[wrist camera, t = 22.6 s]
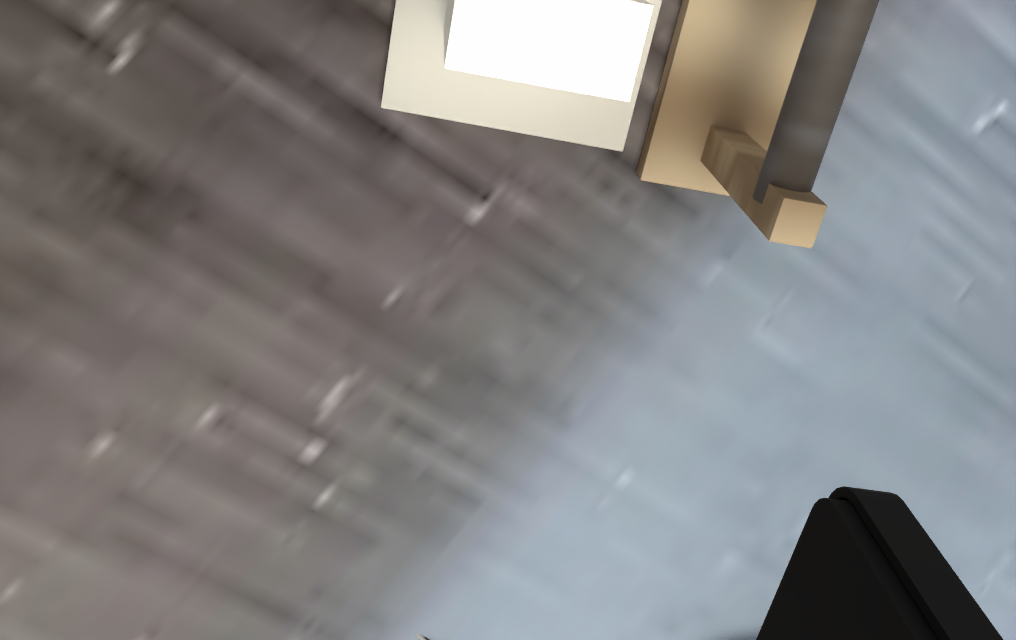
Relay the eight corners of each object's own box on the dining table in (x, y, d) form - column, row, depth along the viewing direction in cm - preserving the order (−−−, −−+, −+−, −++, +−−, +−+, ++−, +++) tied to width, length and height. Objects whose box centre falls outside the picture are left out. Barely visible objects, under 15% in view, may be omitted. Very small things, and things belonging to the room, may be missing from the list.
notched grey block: (443, 28, 36) (444, 68, 29) (456, -55, 34) (460, -33, 28) (594, 56, 36) (629, 102, 30) (612, -23, 35) (653, 5, 28)
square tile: (382, 102, 37) (381, 107, 37) (420, -172, 33) (420, -172, 32) (619, 145, 39) (622, 151, 38) (685, -112, 35) (690, -111, 34)
